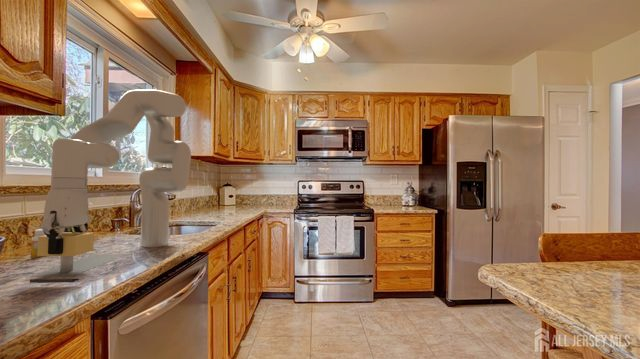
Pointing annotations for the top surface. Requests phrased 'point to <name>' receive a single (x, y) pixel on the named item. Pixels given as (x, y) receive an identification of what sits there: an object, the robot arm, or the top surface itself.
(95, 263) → the keeper board
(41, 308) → the top surface
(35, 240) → the supplement bottle
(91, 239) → the tan hollow block
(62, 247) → the robot arm
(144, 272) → the top surface
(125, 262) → the top surface
